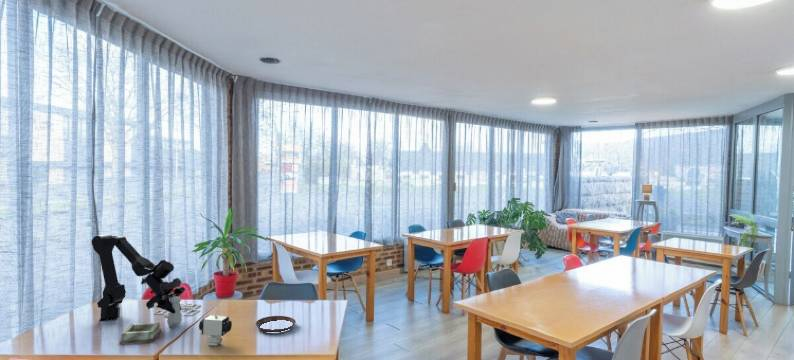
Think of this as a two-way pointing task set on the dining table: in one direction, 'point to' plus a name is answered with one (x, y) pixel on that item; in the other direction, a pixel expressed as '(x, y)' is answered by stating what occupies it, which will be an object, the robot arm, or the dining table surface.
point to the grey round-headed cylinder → (175, 318)
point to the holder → (140, 333)
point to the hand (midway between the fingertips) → (177, 311)
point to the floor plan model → (183, 307)
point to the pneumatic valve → (215, 328)
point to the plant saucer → (274, 318)
